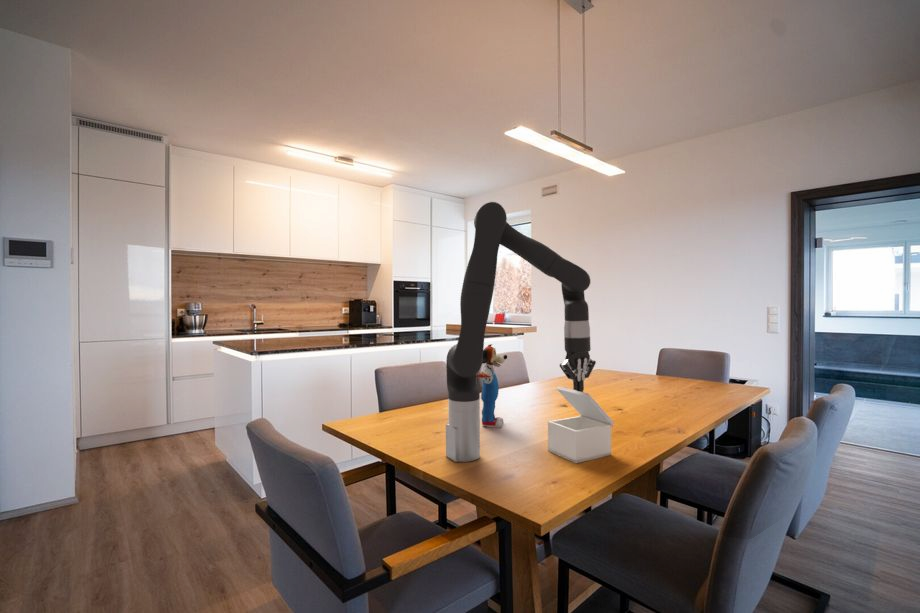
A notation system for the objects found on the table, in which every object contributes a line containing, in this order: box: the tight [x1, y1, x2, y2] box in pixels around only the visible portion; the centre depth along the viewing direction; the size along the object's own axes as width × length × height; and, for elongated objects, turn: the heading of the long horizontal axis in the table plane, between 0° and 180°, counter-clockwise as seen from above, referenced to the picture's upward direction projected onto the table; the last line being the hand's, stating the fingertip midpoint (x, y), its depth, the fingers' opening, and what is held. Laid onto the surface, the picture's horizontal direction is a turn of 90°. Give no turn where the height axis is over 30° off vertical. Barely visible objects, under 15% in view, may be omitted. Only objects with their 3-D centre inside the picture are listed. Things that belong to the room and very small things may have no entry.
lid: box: [556, 386, 615, 426], centre depth 131 cm, size 14×13×1 cm
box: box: [547, 415, 612, 464], centre depth 130 cm, size 14×12×9 cm
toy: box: [476, 344, 508, 428], centre depth 160 cm, size 34×10×30 cm, turn 168°
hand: (578, 392), depth 130 cm, fingers closed
